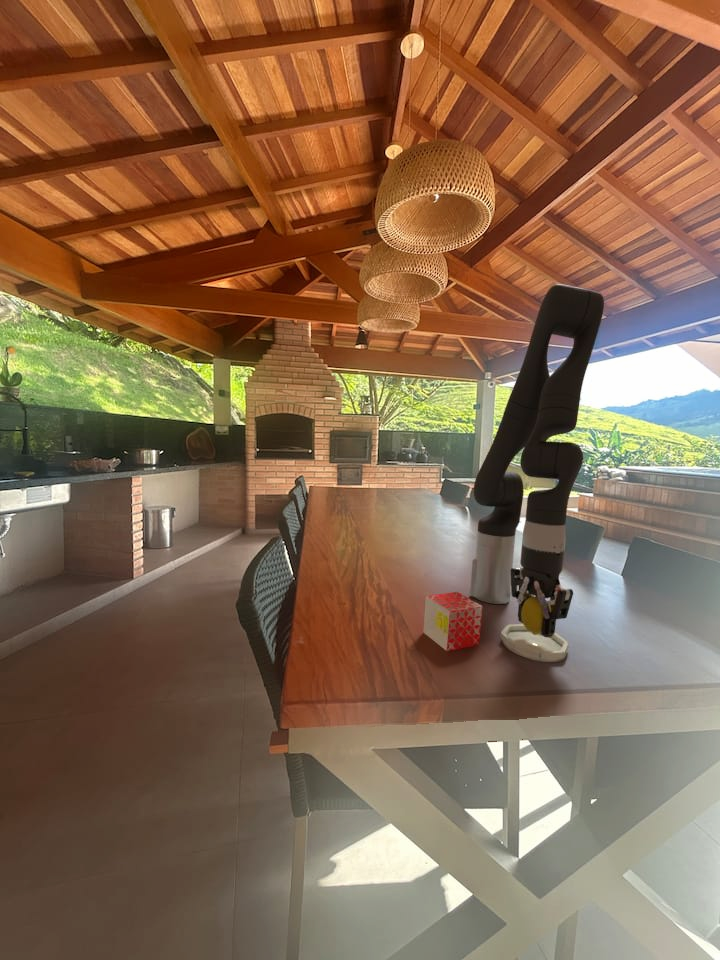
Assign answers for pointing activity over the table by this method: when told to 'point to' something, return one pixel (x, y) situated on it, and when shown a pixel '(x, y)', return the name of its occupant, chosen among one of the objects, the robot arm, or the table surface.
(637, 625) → the table surface
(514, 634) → the dish
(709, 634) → the table surface
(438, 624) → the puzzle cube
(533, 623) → the lemon
